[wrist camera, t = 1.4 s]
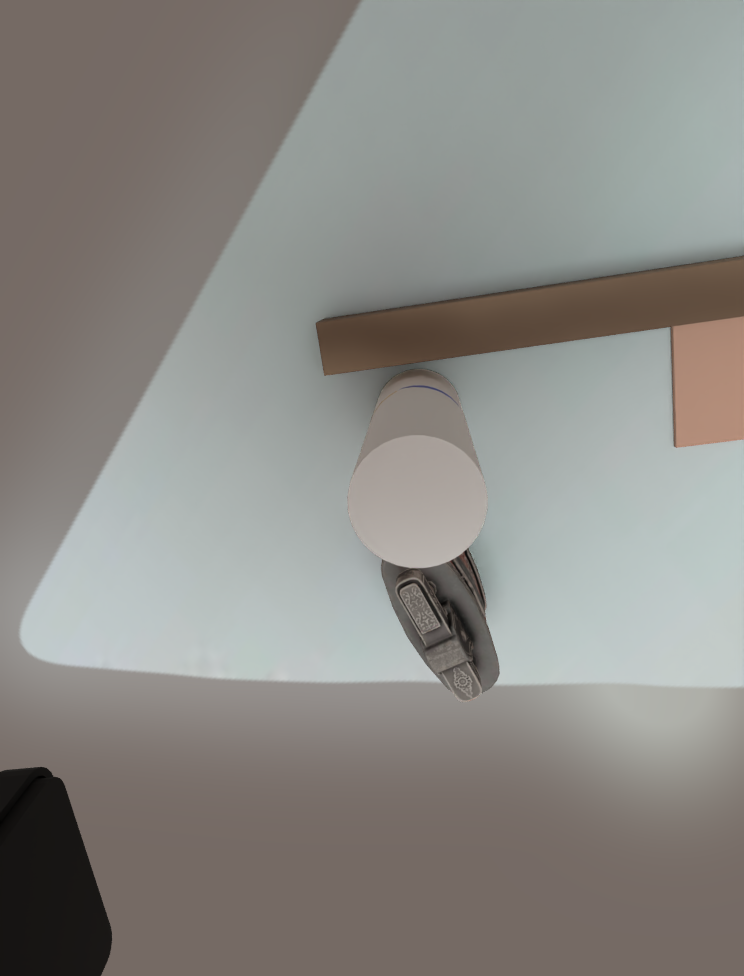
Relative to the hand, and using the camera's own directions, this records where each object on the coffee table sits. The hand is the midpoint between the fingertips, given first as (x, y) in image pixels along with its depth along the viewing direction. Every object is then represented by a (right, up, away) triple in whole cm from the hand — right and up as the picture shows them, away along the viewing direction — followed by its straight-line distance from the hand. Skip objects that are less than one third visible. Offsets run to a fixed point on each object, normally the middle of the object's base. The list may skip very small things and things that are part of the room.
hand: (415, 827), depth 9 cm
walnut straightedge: (+9, +13, +25) cm, 30 cm away
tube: (+2, +8, +27) cm, 28 cm away
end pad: (+18, +10, +25) cm, 32 cm away
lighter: (+3, +1, +29) cm, 29 cm away
